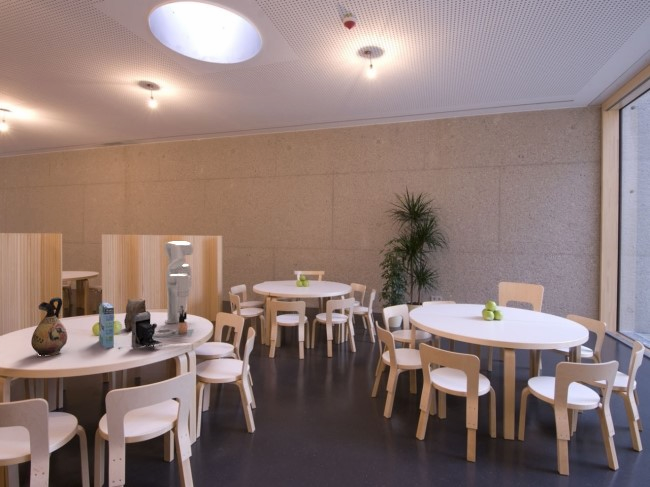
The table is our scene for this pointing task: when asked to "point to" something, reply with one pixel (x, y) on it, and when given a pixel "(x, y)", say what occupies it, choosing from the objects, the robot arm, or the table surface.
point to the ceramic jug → (49, 330)
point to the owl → (133, 311)
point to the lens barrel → (164, 332)
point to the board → (189, 334)
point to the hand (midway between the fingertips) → (182, 321)
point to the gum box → (106, 325)
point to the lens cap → (182, 328)
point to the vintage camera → (143, 330)
